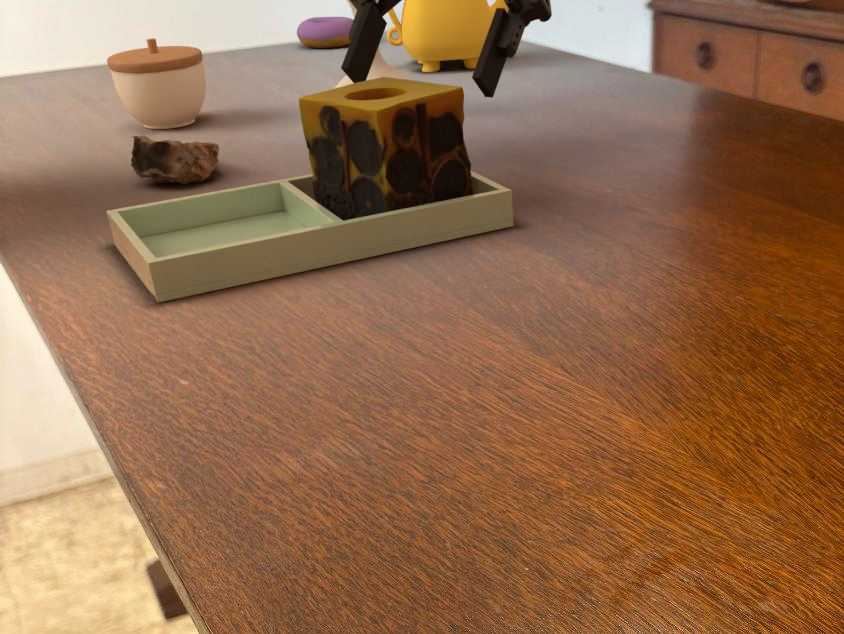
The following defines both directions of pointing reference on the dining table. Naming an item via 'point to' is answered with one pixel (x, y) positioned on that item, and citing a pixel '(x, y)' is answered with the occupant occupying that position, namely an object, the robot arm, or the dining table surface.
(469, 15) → the teapot
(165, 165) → the rock
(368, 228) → the tray
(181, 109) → the trinket box
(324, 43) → the donut
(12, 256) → the dining table surface
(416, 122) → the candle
